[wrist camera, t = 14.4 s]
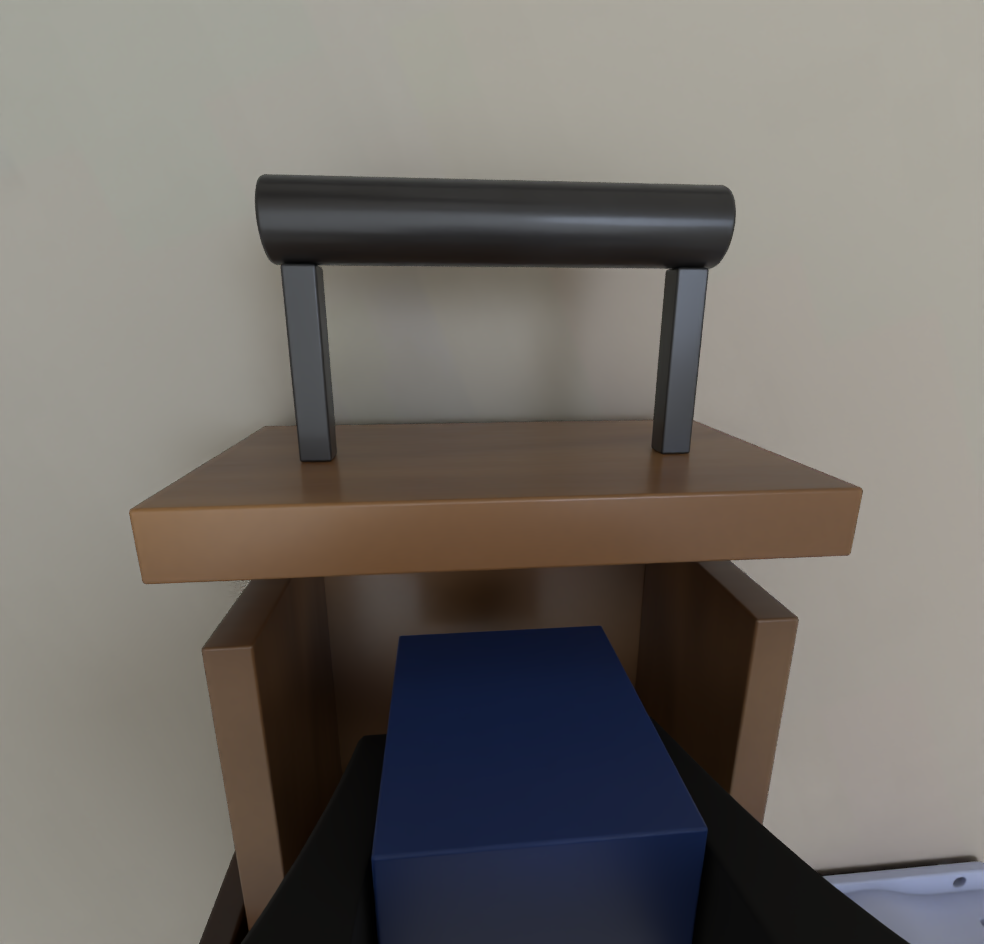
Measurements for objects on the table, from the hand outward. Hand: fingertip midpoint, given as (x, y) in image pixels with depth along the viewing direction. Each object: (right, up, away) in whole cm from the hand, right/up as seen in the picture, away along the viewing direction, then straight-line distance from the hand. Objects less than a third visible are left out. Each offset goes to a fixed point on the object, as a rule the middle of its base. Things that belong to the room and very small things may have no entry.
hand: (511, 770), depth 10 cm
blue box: (0, 0, +1) cm, 1 cm away
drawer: (-1, +3, +5) cm, 6 cm away
